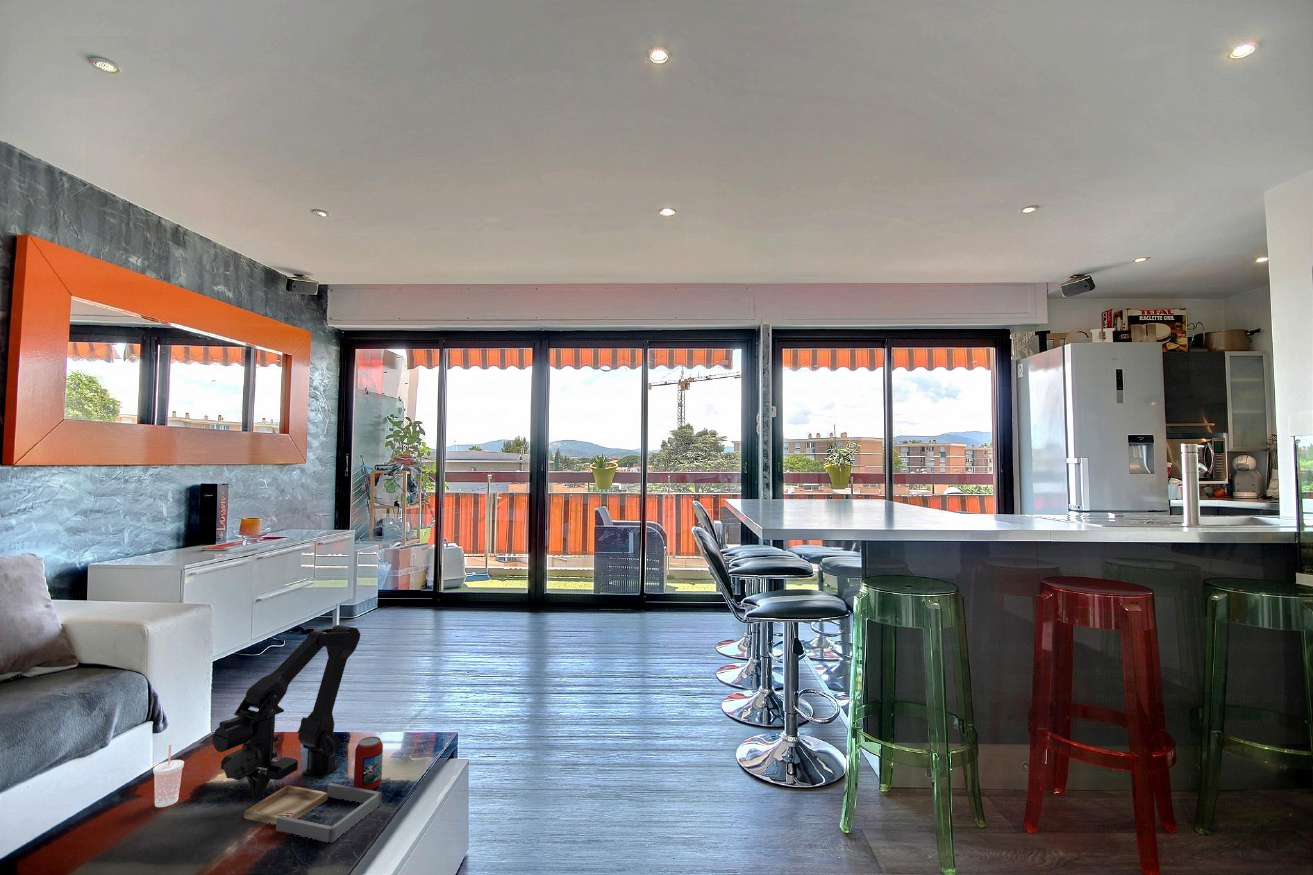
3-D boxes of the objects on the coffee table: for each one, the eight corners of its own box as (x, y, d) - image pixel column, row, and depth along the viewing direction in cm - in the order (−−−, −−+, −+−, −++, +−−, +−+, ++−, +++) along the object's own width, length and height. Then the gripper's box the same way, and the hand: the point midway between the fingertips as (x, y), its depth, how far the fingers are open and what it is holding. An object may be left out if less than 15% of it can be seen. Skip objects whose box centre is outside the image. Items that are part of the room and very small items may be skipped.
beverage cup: (186, 799, 155) (190, 743, 156) (158, 811, 150) (161, 753, 151) (174, 793, 158) (177, 737, 159) (146, 804, 153) (149, 747, 154)
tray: (243, 819, 148) (244, 811, 148) (287, 793, 160) (287, 784, 161) (286, 829, 145) (287, 819, 145) (327, 800, 157) (327, 792, 157)
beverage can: (370, 794, 160) (372, 747, 160) (347, 791, 161) (349, 744, 162) (386, 781, 167) (388, 736, 167) (364, 778, 168) (366, 733, 168)
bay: (276, 831, 143) (276, 817, 144) (330, 794, 160) (330, 782, 160) (331, 843, 140) (332, 829, 140) (381, 804, 156) (381, 792, 156)
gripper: (201, 743, 150) (198, 809, 150) (262, 755, 146) (259, 822, 145) (243, 725, 161) (239, 786, 161) (301, 735, 156) (297, 798, 156)
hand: (257, 798), depth 155 cm, fingers closed
